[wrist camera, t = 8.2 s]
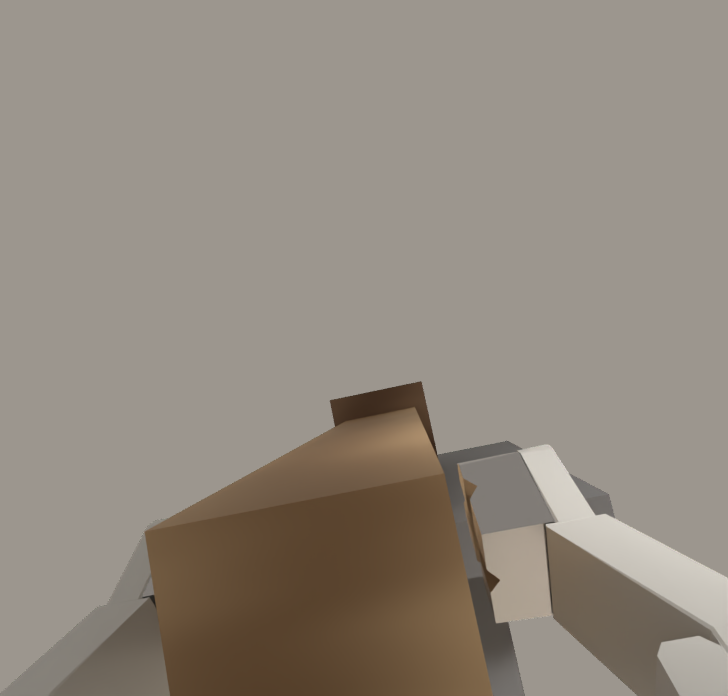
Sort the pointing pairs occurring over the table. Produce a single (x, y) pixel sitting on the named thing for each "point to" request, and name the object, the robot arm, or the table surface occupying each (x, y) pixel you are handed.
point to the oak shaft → (324, 570)
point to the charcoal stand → (491, 633)
